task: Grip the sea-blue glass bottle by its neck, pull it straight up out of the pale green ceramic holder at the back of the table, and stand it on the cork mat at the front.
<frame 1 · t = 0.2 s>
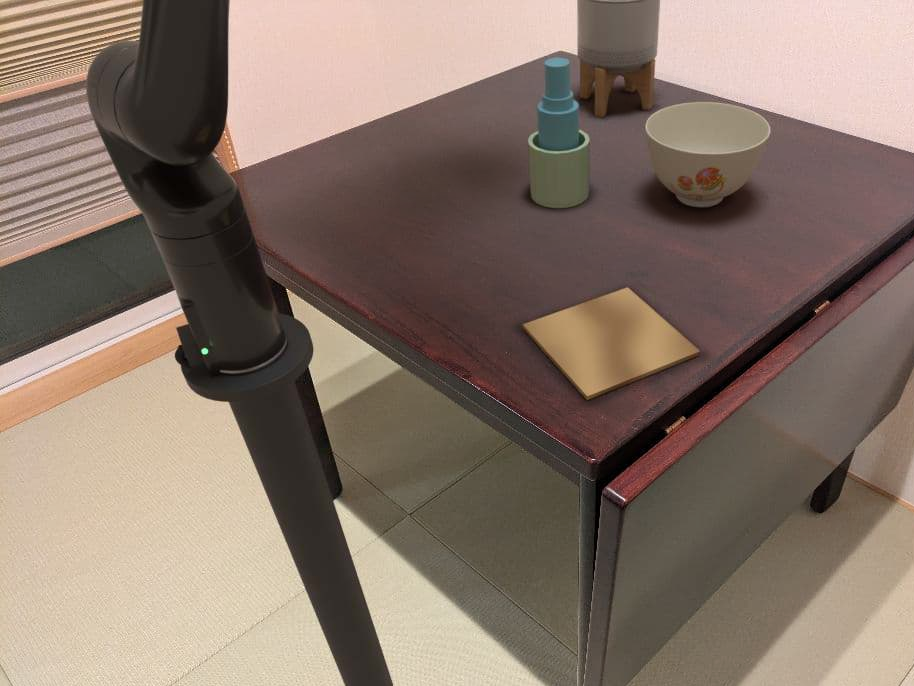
cork mat: (608, 341, 86), on the table
planter: (615, 103, 135), on the table
holder: (559, 194, 111), on the table
bowl: (699, 197, 110), on the table
bottle: (559, 190, 111), point 1 cm above the table, touching holder
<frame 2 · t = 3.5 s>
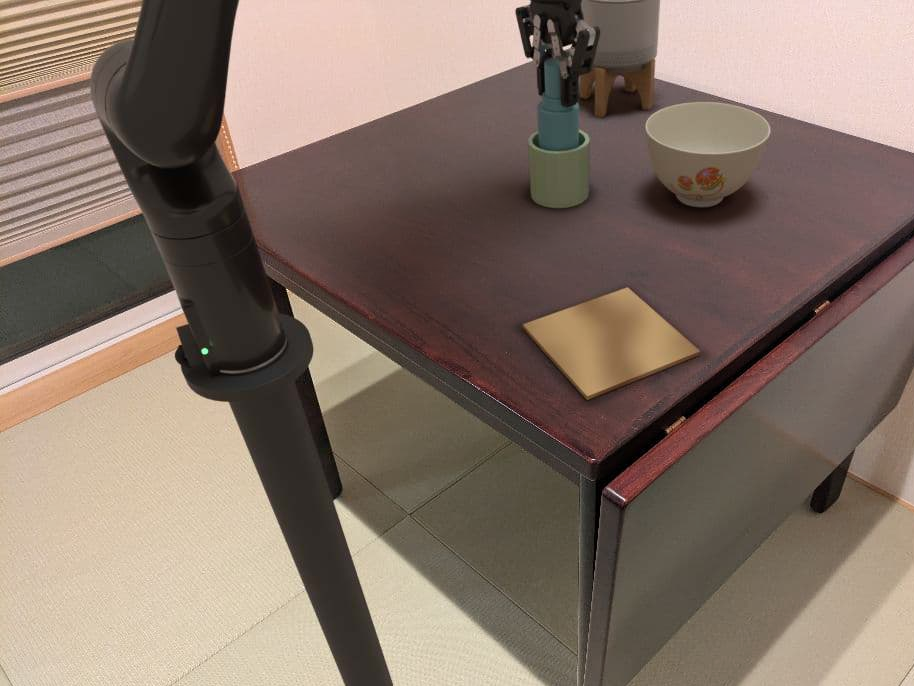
hand: (557, 99, 102), 13 cm above the table, tool pointing down, fingers closed on bottle, 4 cm apart
bottle: (559, 190, 111), point 1 cm above the table, touching gripper, holder
everything else where it was.
when the fingers open (13 cm above the table, at t = 12.7 s): bottle stays where it is, resting on cork mat.
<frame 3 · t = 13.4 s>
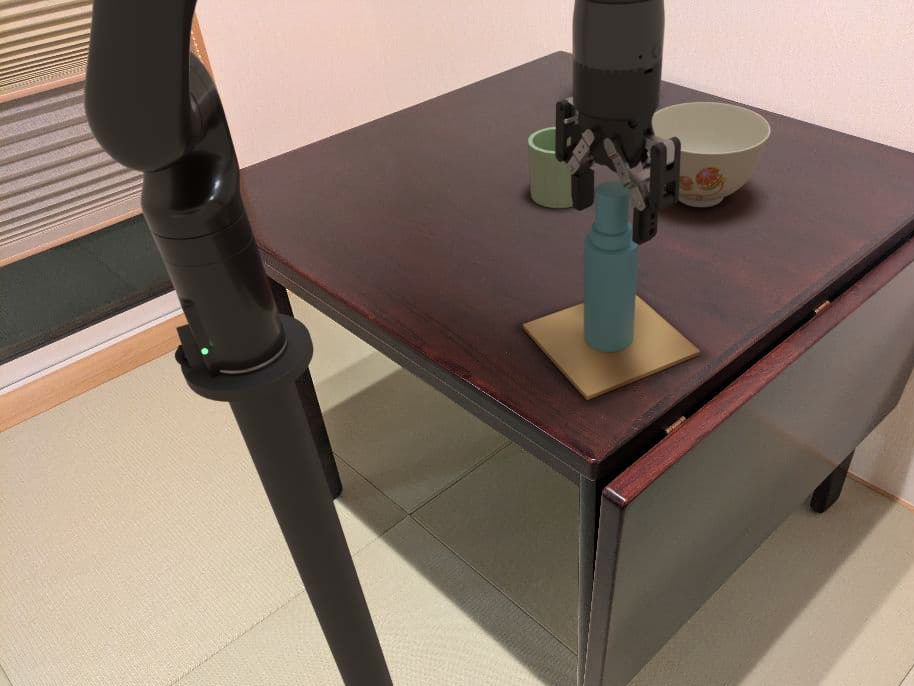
hand: (612, 223, 77), 14 cm above the table, tool pointing down, fingers open, 8 cm apart
bottle: (608, 336, 86), point 1 cm above the table, touching cork mat
everything else where it was.
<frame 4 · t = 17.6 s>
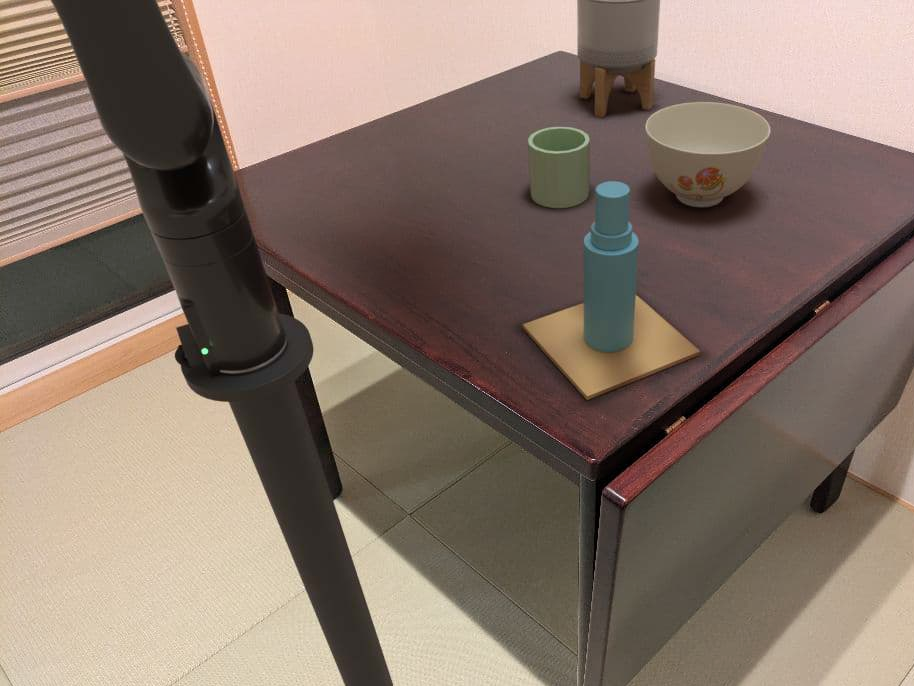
nothing on the table moved.
at the end: bottle inside the target area on the cork mat (0.1 cm from its centre), point 0.6 cm above the cork mat's base; bottle tilted 0°; bottle touching cork mat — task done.
